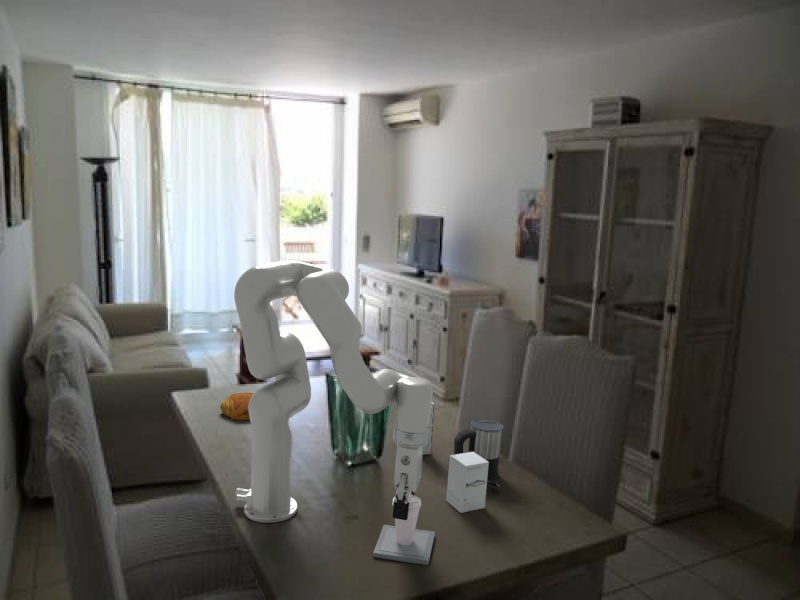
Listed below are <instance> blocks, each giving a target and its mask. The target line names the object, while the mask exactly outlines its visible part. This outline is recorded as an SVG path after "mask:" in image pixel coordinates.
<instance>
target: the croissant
mask: <svg viewBox="0 0 800 600" xmlns="http://www.w3.org/2000/svg"><path fill="white" fill-rule="evenodd" d="M254 393H255V392H238V393H232V394H230V395H229V396H228V397H227V398H226V399H224V400H223V401H222V402H221V404H220V407H219V408H220V410H221V414H223V415H224V416H225V417H228V418H230V419H232V421H233V420H234V421H235V420H236V421H246V420H247V421H250V417H249V410H248V407H249V401H250V399H251V397H252V395H253V394H254Z"/></svg>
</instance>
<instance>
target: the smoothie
mask: <svg viewBox="0 0 800 600" xmlns="http://www.w3.org/2000/svg"><path fill="white" fill-rule="evenodd" d="M404 495H405V496H406V494H404ZM394 500H395V496H394V497H393V498H392V507H393V506H394ZM408 502H409V509H408V518H407V520H401V519H395V518H394V523H395V524H394V526H395V528H396V541H397V543H399V544H401V545H410V544H412V543H413V538H414V533H415V529H417V522H418V517H419V513H420V509H421V507H422V499H421V498H420V497H418V496H416V495H415V494H414V495H411V491H410V492H409V498H408Z"/></svg>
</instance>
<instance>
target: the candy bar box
mask: <svg viewBox="0 0 800 600" xmlns="http://www.w3.org/2000/svg"><path fill="white" fill-rule="evenodd" d="M434 413H435V403H434V402H433V401H432V404H431V413H430V422H429V433H428V442H427V445H425V446H424V447H423V456H428V455H431V454H432V446H433V431H434V430H433V428H434Z"/></svg>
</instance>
